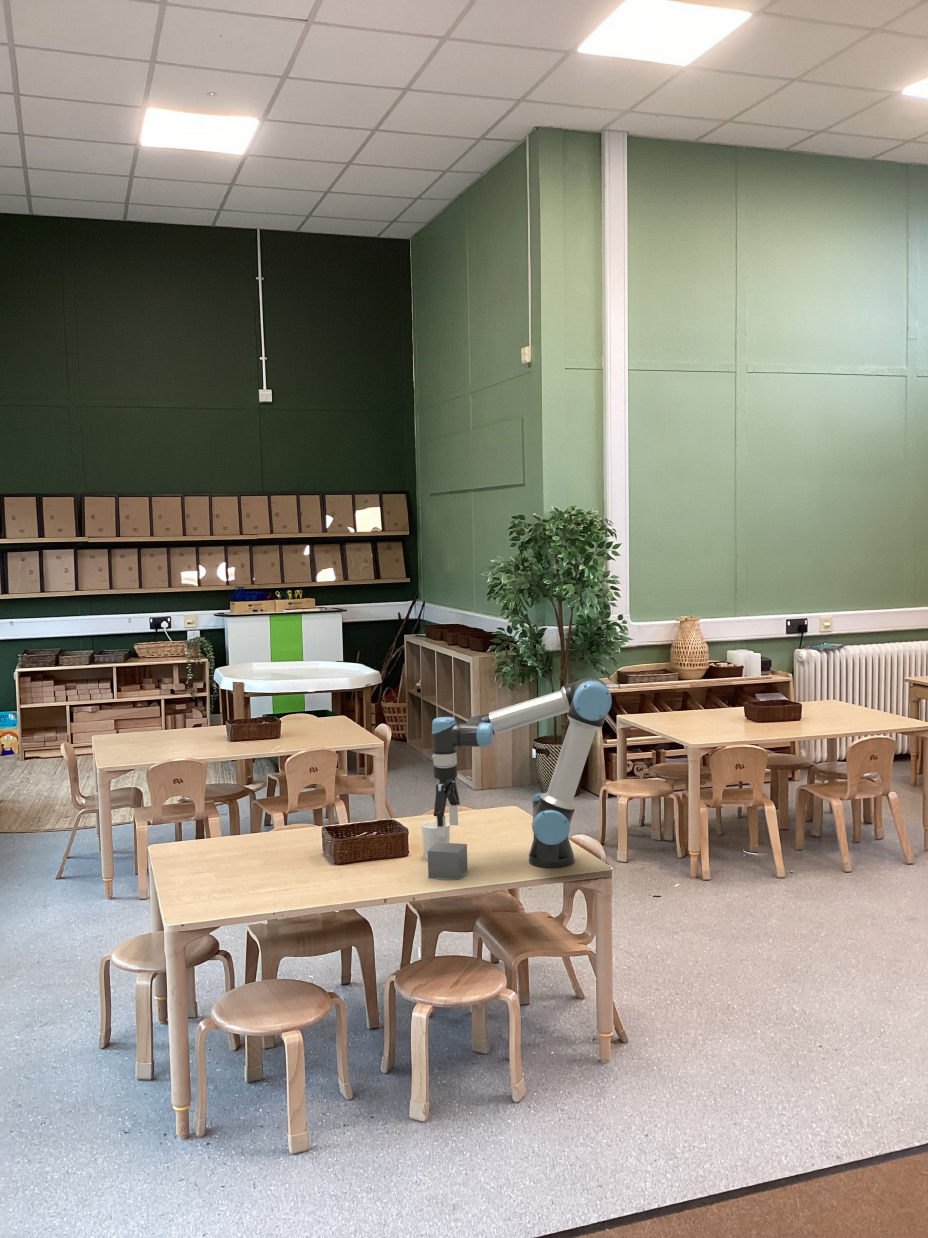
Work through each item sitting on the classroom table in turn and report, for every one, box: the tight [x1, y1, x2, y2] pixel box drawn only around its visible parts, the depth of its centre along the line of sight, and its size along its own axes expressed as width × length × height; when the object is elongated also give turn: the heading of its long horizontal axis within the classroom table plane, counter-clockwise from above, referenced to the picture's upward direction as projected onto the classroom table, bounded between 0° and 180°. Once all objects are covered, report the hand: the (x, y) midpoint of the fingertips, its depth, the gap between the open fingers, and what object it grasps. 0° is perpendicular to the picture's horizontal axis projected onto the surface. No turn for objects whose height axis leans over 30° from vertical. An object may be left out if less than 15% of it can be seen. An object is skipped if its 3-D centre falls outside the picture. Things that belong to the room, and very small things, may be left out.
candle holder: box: [421, 820, 451, 862], centre depth 367 cm, size 10×10×12 cm
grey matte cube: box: [427, 842, 468, 881], centre depth 350 cm, size 10×10×9 cm
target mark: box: [434, 871, 468, 881], centre depth 350 cm, size 12×12×1 cm
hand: (447, 830), depth 349 cm, fingers open, 13 cm apart
